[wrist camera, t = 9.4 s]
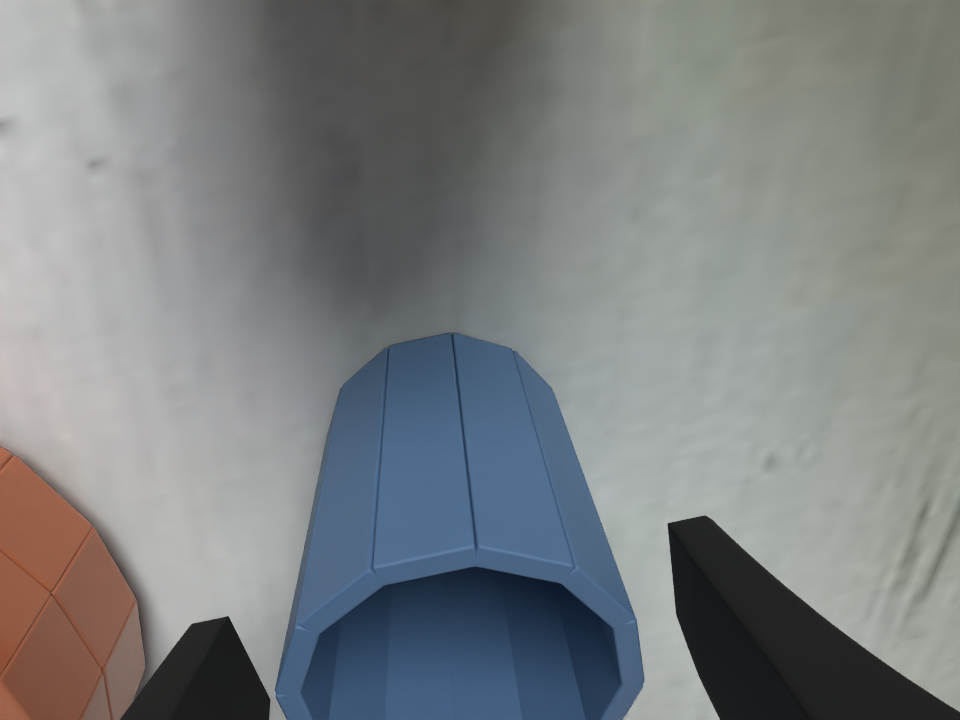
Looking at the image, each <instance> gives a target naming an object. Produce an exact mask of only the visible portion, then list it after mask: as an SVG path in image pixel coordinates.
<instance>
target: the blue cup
mask: <svg viewBox="0 0 960 720" xmlns="http://www.w3.org/2000/svg"><path fill="white" fill-rule="evenodd" d="M643 683H644V673H643V665H642V658H641V650H640V642H639V635H638V627H637V620H636V618H635V615H634V612H633V609H632V607H631V604H630V601H629V598H628V596H627V593H626V590H625V587H624V584H623V582H622V579H621V576H620V573H619V571H618V568H617V565H616V562H615V560H614V557H613V554H612V551H611V549H610V546H609V543H608V540H607V538H606V535H605V532H604V529H603V527H602V524H601V521H600V518H599V516H598V513H597V510H596V507H595V505H594V502H593V499H592V496H591V494H590V491H589V488H588V485H587V483H586V480H585V477H584V474H583V472H582V469H581V466H580V463H579V461H578V458H577V455H576V452H575V450H574V447H573V444H572V441H571V438H570V436H569V433H568V430H567V427H566V425H565V422H564V419H563V416H562V414H561V411H560V408H559V405H558V403H557V400H556V397H555V394H554V392H553V391H552V388H551V387H550V386H549V385H548V384H547V383H546V382H545V381H544V380H543V379H542V378H541V377H540V376H539V375H538V374H537V373H536V372H535V371H534V370H533V369H532V368H531V367H530V366H529V364H528V363H527V362H526V361H525V360H524V359H523V358H522V357H521V356H520V355H519V354H518V353H517V352H516V351H512V349H511V348H507V347H504V346H500V345H496V344H493V343H489V342H485V341H482V340H478V339H475V338H471V337H467V336H464V335H460V334H456V333H453V334H452V335H451V333H446V334H442V335H437V336H432V337H428V338H423V339H419V340H414V341H409V342H405V343H400V344H395V345H391V346H389V348H385V349H384V350H383V351H382V352H380V353H379V354H378V355H377V356H376V357H375V358H373V359H372V360H371V361H370V362H369V363H368V364H366V365H365V366H364V367H363V368H362V369H361V370H360V371H358V372H357V373H356V374H355V375H354V376H353V377H351V378H350V379H349V380H348V381H347V382H346V383H345V384H343V388H341V389H340V393H339V396H338V400H337V403H336V407H335V410H334V414H333V417H332V421H331V424H330V428H329V431H328V435H327V439H326V444H325V449H324V453H323V458H322V463H321V468H320V473H319V478H318V483H317V488H316V492H315V497H314V502H313V507H312V512H311V517H310V522H309V527H308V531H307V536H306V541H305V546H304V551H303V556H302V561H301V566H300V570H299V575H298V580H297V585H296V590H295V595H294V600H293V605H292V610H291V614H290V619H289V624H288V629H287V634H286V639H285V644H284V649H283V653H282V658H281V663H280V668H279V673H278V678H277V683H276V688H275V692H276V699H277V701H278V703H279V705H280V707H281V709H282V711H283V713H284V715H285V717H286V719H287V720H623V719H624V717H625V716H626V714H627V712H628V711H629V709H630V708H631V706H632V704H633V703H634V701H635V699H636V698H637V696H638V695H639V693H640V691H641V690H642V688H643Z"/></svg>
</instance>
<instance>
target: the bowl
mask: <svg viewBox="0 0 960 720" xmlns="http://www.w3.org/2000/svg"><path fill="white" fill-rule="evenodd" d="M144 668H145V658H144V650H143V643H142V635H141V627H140V620H139V612H138V604H137V600H135V595H134V594H133V592H132V590H131V589H130V587H129V585H128V583H127V582H126V580H125V578H124V577H123V575H122V573H121V571H120V570H119V568H118V566H117V565H116V563H115V561H114V559H113V558H112V556H111V554H110V553H109V551H108V549H107V548H106V546H105V544H104V542H103V541H102V539H101V537H100V536H99V534H98V532H97V530H96V529H95V528H94V527H92V524H91V523H90V522H89V521H88V520H87V519H86V518H85V517H83V516H82V515H81V514H80V513H79V512H78V511H77V510H76V509H75V508H74V507H72V506H71V505H70V504H69V503H68V502H67V501H66V500H65V499H64V498H63V497H62V496H60V495H59V494H58V493H57V492H56V491H55V490H54V489H53V488H52V487H51V486H49V485H48V484H47V483H46V482H45V481H44V480H43V479H42V478H41V477H40V476H39V475H37V474H36V473H35V472H34V471H33V470H32V469H31V468H30V467H29V466H28V465H26V464H25V463H24V462H23V461H22V460H21V459H20V458H19V457H18V456H12V453H11V452H10V451H8V450H6V449H4V448H2V447H1V446H0V720H120V718H121V717H122V716H123V714H124V713H125V712H126V711H127V709H128V708H129V707H130V705H131V704H132V703H133V701H134V699H135V696H136V693H137V690H138V688H139V685H140V682H141V679H142V676H143V674H144V671H145V670H144Z"/></svg>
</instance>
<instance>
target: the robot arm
mask: <svg viewBox="0 0 960 720" xmlns="http://www.w3.org/2000/svg"><path fill="white" fill-rule="evenodd" d="M668 532H669V542H670V553H671V564H672V574H673V585H674V595H675V606H676V615H677V618H678V621H679V623H680V626H681V629H682V632H683V635H684V637H685V640H686V643H687V646H688V648H689V651H690V654H691V656H692V659H693V662H694V664H695V667H696V670H697V672H698V675H699V677H700V679H701V681H702V683H703V686H704V688H705V690H706V692H707V694H708V696H709V698H710V700H711V702H712V704H713V706H714V708H715V710H716V712H717V714H718V716H719V718H720V720H960V712H959V711H957V710H955V709H954V708H952V707H950V706H949V705H947V704H946V703H944V702H942V701H941V700H939V699H938V698H936V697H935V696H933V695H932V694H930V693H929V692H927V691H926V690H924V689H923V688H921V687H919V686H918V685H916V684H915V683H913V682H912V681H910V680H909V679H907V678H906V677H904V676H903V675H901V674H900V673H899V672H897V671H896V670H894V669H893V668H891V667H890V666H888V665H887V664H886V663H884V662H883V661H881V660H880V659H879V658H877V657H876V656H874V655H873V654H872V653H870V652H869V651H867V650H866V649H865V648H863V647H862V646H861V645H859V644H858V643H857V642H855V641H854V640H853V639H851V638H850V637H849V636H847V635H846V634H845V633H843V632H842V631H840V630H839V629H838V628H837V627H835V626H834V625H833V624H831V623H830V622H829V621H828V620H826V619H825V618H824V617H822V616H821V615H820V614H819V613H817V612H816V611H815V610H814V609H813V608H811V607H810V606H809V605H808V604H806V603H805V602H804V601H803V600H802V599H800V598H799V597H798V596H797V595H795V594H794V593H793V592H792V591H791V590H789V589H788V588H787V587H786V586H784V585H783V584H782V583H781V582H780V581H779V580H777V579H776V578H775V577H774V576H773V575H772V574H770V573H769V572H768V571H767V570H766V569H765V568H764V567H763V566H761V565H760V564H759V563H758V562H757V561H756V560H755V559H754V558H752V557H751V556H750V555H749V554H748V553H747V552H746V551H745V550H744V549H743V548H741V547H740V546H739V545H738V544H737V543H736V542H735V541H734V540H733V539H732V538H731V537H730V536H729V535H728V534H726V533H725V532H724V531H723V530H722V529H721V528H720V527H719V526H718V525H717V524H716V523H715V522H714V521H713V520H712V519H710V518H709V517H707V516H700V517H696V518H691V519H686V520H681V521H677V522H672V523H668ZM269 712H270V698H269V696H268V694H267V692H266V690H265V688H264V686H263V684H262V682H261V680H260V678H259V676H258V674H257V672H256V670H255V668H254V666H253V664H252V662H251V660H250V658H249V656H248V654H247V652H246V650H245V648H244V646H243V644H242V642H241V640H240V638H239V636H238V634H237V632H236V630H235V628H234V626H233V624H232V622H231V620H230V618H229V616H227V617H223V618H218V619H213V620H209V621H204V622H199V623H194V624H191V626H190V627H189V628H188V630H187V631H186V632H185V633H184V635H183V636H182V637H181V638H180V640H179V641H178V642H177V644H176V645H175V646H174V648H173V649H172V650H171V652H170V653H169V654H168V656H167V657H166V658H165V660H164V661H163V662H162V664H161V665H160V666H159V668H158V669H157V670H156V672H155V673H154V675H153V676H152V677H151V679H150V680H149V681H148V683H147V684H146V685H145V687H144V688H143V689H142V691H141V692H140V693H139V695H138V696H137V697H136V699H135V700H134V701H133V703H132V704H131V705H130V707H129V708H128V709H127V711H126V712H125V713H124V714H123V716H122V717H121V718H120V720H269Z"/></svg>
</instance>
